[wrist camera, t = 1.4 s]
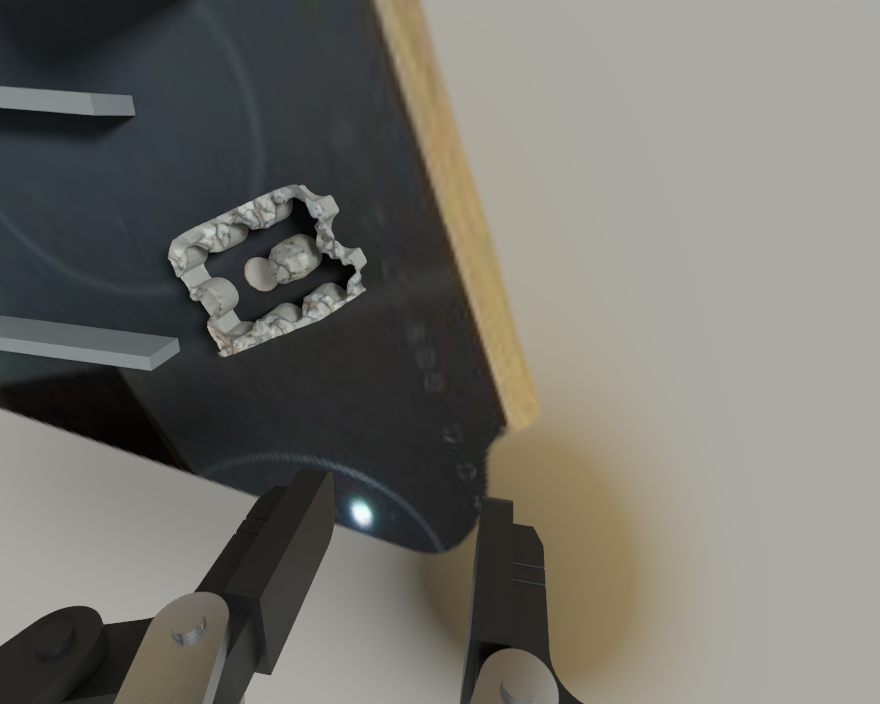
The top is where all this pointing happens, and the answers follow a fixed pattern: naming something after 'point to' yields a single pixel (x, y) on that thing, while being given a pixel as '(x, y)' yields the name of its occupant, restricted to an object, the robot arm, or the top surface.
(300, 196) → the egg carton
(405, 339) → the top surface
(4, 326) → the grey u-shaped frame
